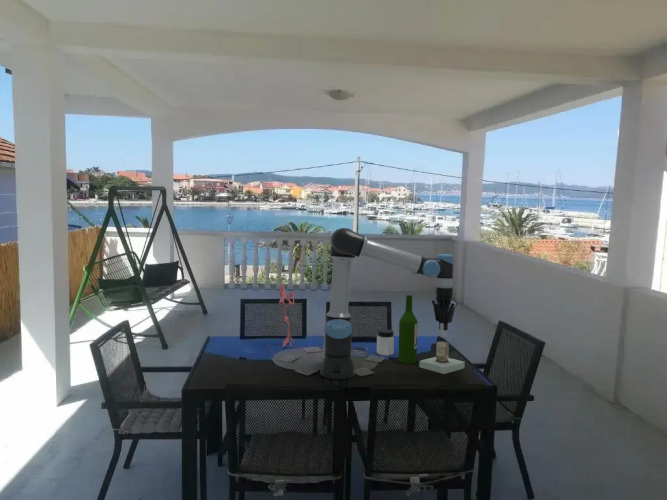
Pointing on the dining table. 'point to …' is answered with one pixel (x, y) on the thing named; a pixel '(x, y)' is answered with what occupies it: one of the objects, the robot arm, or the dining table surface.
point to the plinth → (442, 365)
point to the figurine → (283, 295)
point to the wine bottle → (408, 335)
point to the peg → (442, 352)
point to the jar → (385, 342)
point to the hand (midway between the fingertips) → (443, 336)
